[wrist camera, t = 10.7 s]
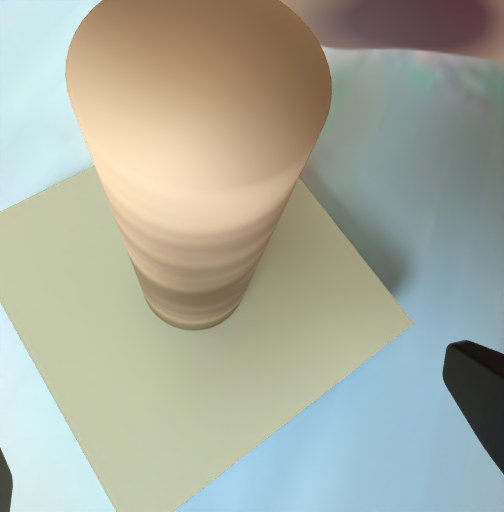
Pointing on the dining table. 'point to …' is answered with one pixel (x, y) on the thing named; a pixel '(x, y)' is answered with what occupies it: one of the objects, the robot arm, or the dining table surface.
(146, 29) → the post
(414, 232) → the dining table surface
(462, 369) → the robot arm
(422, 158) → the dining table surface
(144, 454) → the peg shelf
